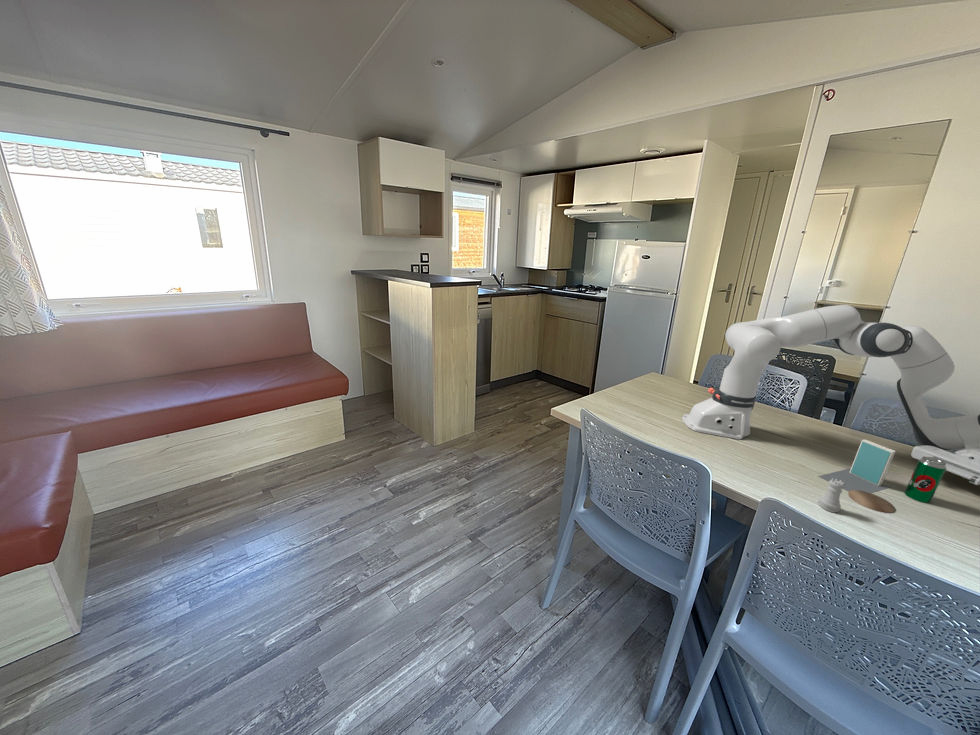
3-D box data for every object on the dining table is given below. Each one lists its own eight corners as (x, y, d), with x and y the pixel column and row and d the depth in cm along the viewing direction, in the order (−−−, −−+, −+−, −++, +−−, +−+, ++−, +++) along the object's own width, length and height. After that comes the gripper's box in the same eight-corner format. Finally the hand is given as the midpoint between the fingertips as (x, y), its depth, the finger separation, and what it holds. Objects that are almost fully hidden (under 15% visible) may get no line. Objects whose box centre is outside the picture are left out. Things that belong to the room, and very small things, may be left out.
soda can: (935, 506, 102) (954, 467, 98) (913, 502, 103) (931, 464, 99) (919, 494, 106) (936, 457, 103) (898, 491, 107) (914, 454, 104)
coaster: (863, 511, 98) (864, 508, 98) (839, 490, 107) (840, 488, 106) (903, 516, 97) (904, 514, 96) (875, 495, 105) (877, 492, 105)
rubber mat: (848, 469, 117) (849, 468, 117) (889, 488, 108) (890, 487, 108) (817, 477, 112) (817, 476, 112) (857, 498, 103) (858, 496, 103)
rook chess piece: (812, 502, 101) (822, 476, 98) (828, 501, 101) (837, 476, 99) (828, 513, 97) (838, 486, 94) (844, 513, 97) (854, 486, 95)
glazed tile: (852, 471, 116) (865, 439, 112) (881, 484, 109) (895, 451, 106) (849, 472, 115) (861, 440, 112) (877, 485, 109) (892, 452, 105)
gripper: (929, 438, 120) (904, 443, 115) (1034, 473, 101) (1010, 482, 97) (921, 455, 121) (896, 461, 117) (1023, 494, 103) (998, 503, 99)
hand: (948, 471), depth 107 cm, fingers open, 8 cm apart
